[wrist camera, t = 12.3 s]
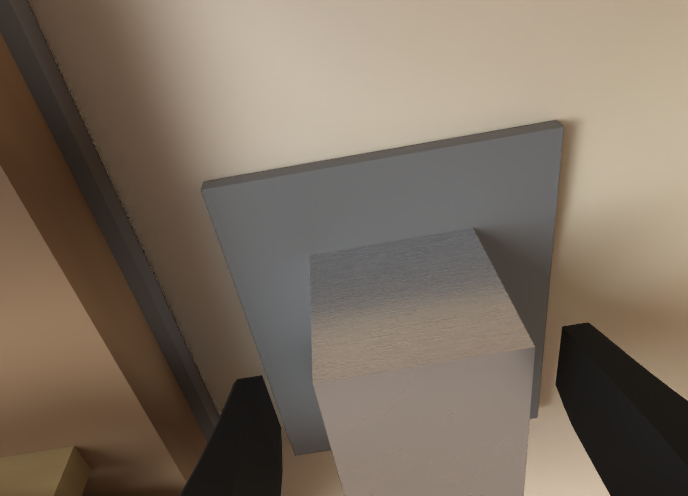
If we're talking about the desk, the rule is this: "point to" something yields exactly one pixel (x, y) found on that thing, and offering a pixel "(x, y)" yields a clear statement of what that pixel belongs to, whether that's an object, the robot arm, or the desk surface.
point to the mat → (383, 237)
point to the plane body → (80, 308)
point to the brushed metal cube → (421, 368)
